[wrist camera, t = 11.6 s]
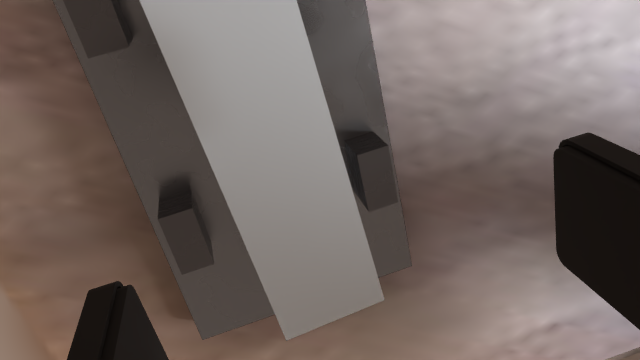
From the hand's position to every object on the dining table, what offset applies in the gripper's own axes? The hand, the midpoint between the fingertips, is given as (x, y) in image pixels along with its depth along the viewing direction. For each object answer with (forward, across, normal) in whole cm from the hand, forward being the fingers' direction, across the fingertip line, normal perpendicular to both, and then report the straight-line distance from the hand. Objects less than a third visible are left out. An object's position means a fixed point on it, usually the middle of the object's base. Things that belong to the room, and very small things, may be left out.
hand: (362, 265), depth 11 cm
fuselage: (+14, +1, -1) cm, 14 cm away
